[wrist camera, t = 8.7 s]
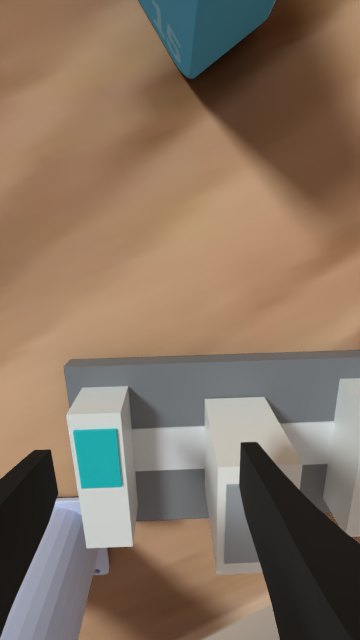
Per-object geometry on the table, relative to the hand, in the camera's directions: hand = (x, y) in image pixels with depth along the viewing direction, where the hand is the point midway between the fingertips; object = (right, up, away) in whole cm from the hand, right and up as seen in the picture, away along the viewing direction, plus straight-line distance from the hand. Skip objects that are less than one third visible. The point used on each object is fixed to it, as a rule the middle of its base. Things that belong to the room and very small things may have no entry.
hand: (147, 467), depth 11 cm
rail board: (+5, -3, +11) cm, 12 cm away
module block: (+5, -3, +9) cm, 11 cm away
